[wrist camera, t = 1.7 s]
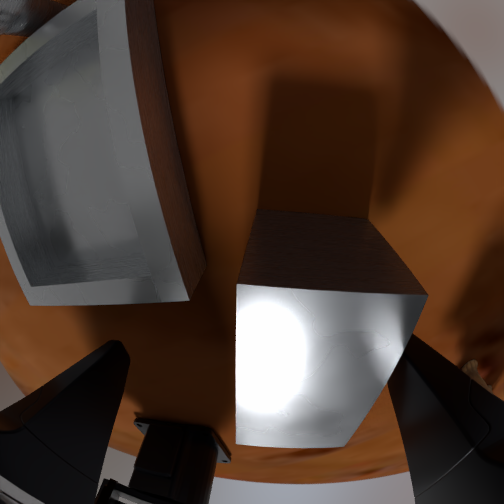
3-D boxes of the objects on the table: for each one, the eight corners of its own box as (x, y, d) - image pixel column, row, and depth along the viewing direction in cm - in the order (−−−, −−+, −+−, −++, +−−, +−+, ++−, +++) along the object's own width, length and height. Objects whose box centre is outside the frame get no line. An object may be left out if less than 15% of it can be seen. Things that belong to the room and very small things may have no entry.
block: (331, 356, 12) (343, 446, 8) (249, 352, 13) (236, 443, 8) (367, 218, 9) (428, 295, 5) (257, 208, 10) (236, 283, 5)
